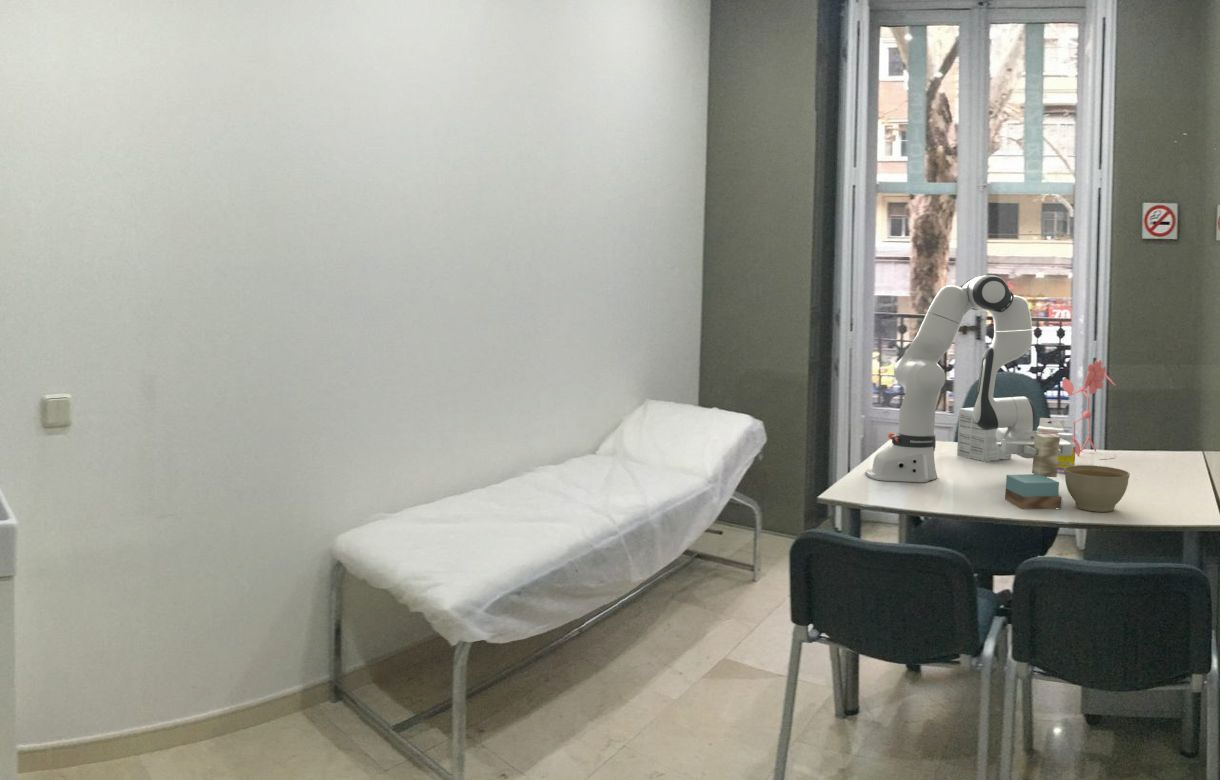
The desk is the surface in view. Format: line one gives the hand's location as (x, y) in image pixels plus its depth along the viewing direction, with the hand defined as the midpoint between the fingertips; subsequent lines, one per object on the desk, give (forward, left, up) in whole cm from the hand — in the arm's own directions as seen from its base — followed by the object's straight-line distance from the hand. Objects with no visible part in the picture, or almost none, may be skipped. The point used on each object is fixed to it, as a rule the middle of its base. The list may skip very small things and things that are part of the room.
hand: (1047, 452), depth 264 cm
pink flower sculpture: (+45, +61, -13) cm, 77 cm away
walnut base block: (-8, -10, -14) cm, 19 cm away
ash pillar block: (0, +1, -7) cm, 7 cm away
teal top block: (-8, -10, -10) cm, 16 cm away
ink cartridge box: (+26, +53, -13) cm, 60 cm away
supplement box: (+5, +58, -13) cm, 60 cm away
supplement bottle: (+22, +34, -13) cm, 42 cm away
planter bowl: (+7, -14, -13) cm, 21 cm away
